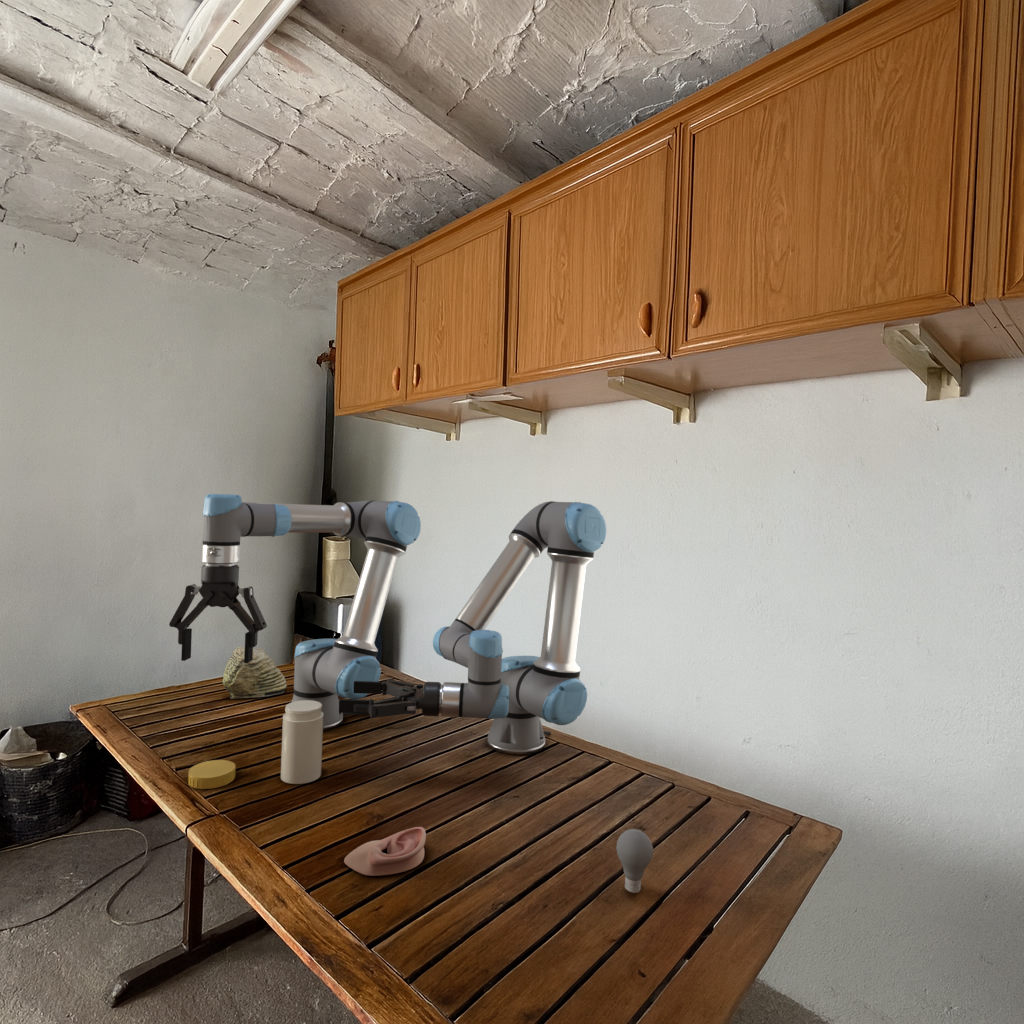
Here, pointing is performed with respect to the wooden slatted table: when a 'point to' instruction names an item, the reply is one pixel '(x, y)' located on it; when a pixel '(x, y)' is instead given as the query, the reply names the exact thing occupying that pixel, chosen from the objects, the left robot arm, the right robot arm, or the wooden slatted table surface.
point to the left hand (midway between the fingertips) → (217, 660)
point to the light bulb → (634, 857)
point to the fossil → (252, 675)
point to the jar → (302, 742)
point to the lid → (211, 774)
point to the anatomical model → (389, 853)
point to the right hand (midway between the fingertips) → (346, 695)
